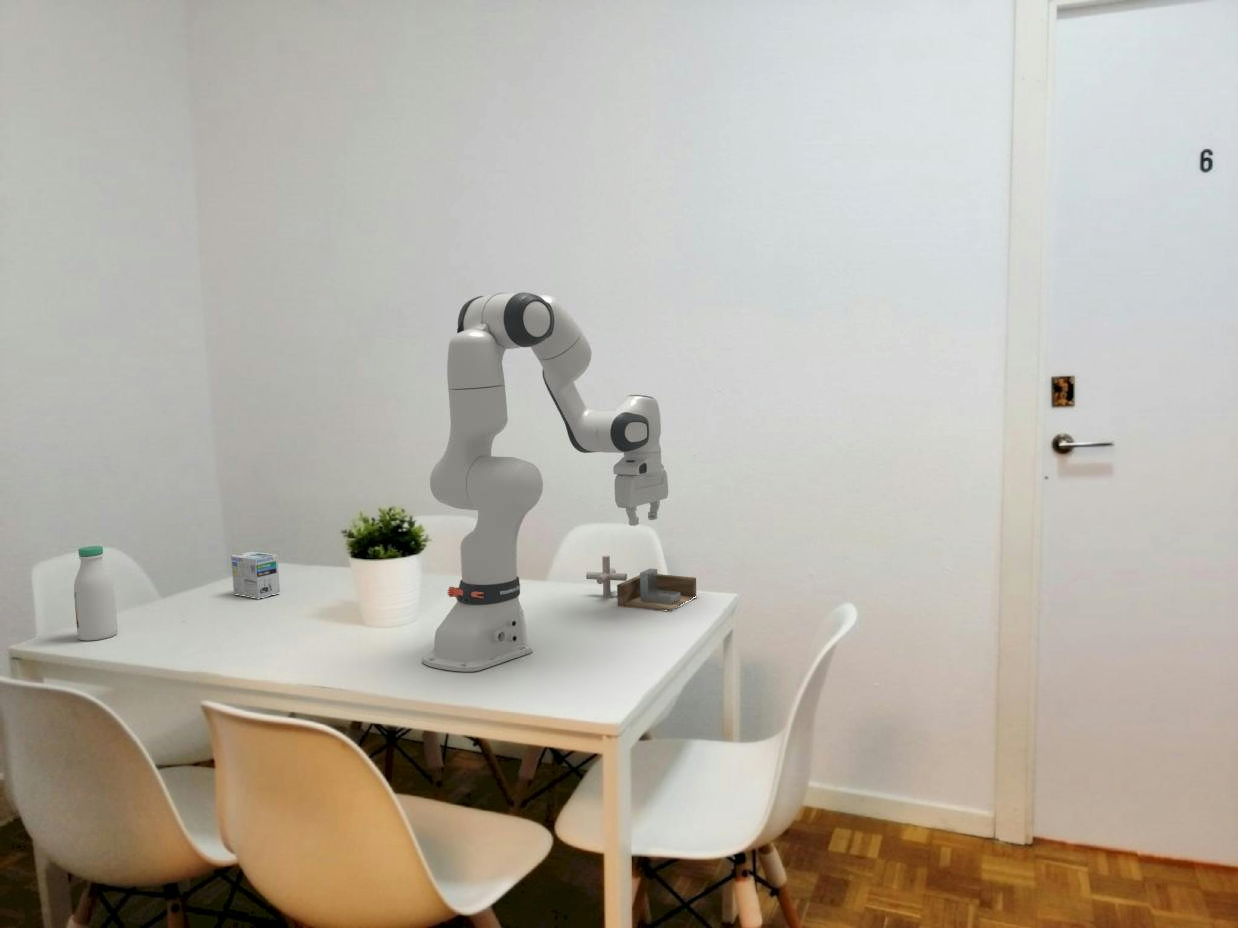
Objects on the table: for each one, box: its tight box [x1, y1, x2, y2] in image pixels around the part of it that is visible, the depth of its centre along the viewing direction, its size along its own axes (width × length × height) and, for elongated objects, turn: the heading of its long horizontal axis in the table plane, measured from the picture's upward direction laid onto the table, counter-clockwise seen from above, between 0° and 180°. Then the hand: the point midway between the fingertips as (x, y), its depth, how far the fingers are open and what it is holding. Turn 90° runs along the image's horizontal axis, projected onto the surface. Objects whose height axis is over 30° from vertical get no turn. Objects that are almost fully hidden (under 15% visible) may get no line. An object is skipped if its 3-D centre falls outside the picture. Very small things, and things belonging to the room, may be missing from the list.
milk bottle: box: [73, 545, 119, 642], centre depth 199 cm, size 8×8×20 cm
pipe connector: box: [585, 555, 628, 598], centre depth 223 cm, size 10×10×10 cm
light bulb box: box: [230, 551, 281, 598], centre depth 234 cm, size 11×7×11 cm, turn 58°
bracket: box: [639, 568, 680, 605], centre depth 214 cm, size 8×5×7 cm, turn 60°
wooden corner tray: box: [616, 573, 697, 612], centre depth 216 cm, size 14×14×5 cm
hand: (643, 522), depth 214 cm, fingers open, 8 cm apart
